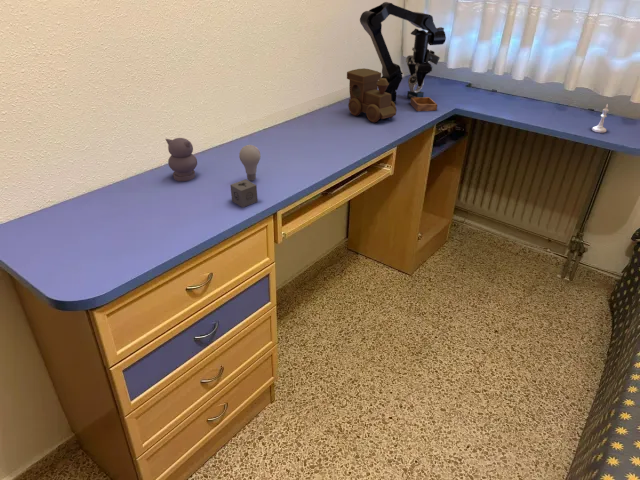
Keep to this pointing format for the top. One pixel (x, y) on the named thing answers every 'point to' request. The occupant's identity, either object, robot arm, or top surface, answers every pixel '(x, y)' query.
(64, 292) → the top surface
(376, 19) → the robot arm
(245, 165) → the lightbulb
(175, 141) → the cat figurine
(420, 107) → the tray
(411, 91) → the watch
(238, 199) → the dark grey engraved cube
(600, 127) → the chess piece
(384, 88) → the wooden toy train
